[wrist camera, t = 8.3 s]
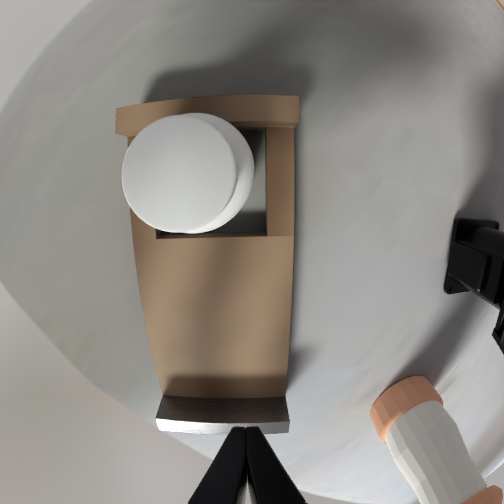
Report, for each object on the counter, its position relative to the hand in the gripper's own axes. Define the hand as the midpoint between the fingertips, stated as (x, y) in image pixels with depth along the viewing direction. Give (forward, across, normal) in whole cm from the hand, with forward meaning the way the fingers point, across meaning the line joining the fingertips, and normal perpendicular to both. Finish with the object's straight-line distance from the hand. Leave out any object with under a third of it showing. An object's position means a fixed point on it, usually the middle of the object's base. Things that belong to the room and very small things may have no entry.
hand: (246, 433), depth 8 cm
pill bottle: (+12, +2, -8) cm, 15 cm away
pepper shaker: (+12, -16, +14) cm, 25 cm away
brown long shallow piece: (+12, +2, -1) cm, 12 cm away
